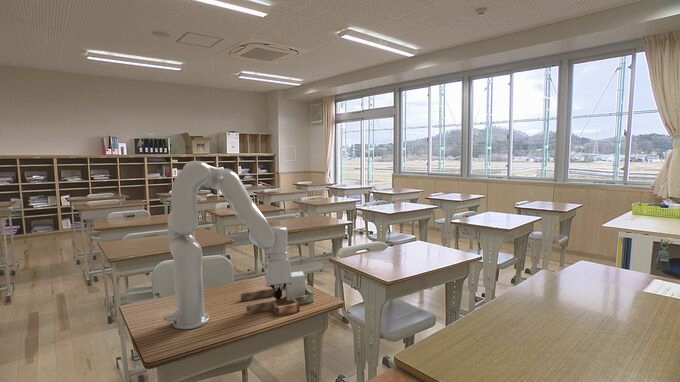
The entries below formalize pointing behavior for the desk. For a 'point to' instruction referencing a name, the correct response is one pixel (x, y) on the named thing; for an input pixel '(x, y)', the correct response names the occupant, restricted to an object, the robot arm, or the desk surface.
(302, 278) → the small box
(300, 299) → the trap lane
